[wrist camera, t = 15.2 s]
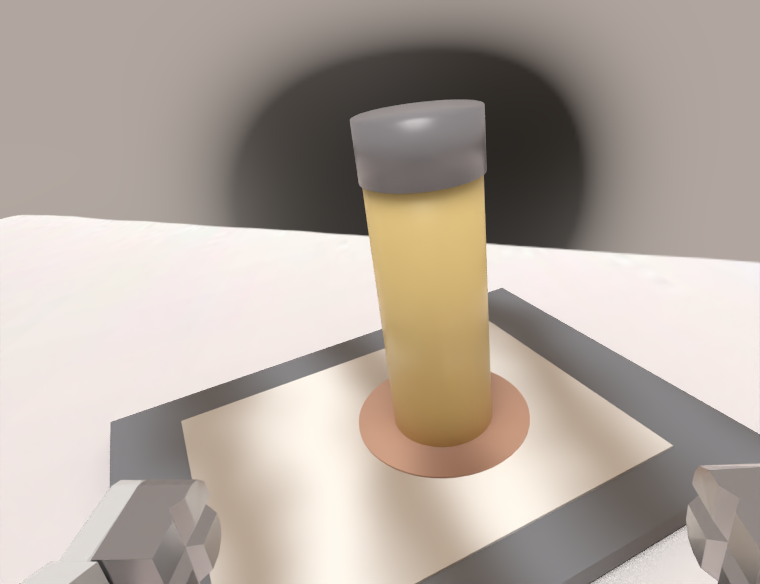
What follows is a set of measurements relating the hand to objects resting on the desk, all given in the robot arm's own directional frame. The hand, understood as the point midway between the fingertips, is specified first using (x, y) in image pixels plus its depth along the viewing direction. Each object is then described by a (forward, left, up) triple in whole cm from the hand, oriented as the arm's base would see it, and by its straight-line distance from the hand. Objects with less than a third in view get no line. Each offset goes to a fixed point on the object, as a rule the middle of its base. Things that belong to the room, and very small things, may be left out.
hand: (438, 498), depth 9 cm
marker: (+5, +10, -7) cm, 13 cm away
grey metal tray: (+3, +10, -8) cm, 13 cm away
